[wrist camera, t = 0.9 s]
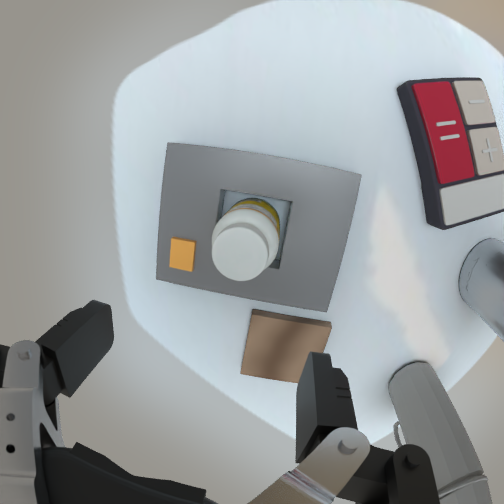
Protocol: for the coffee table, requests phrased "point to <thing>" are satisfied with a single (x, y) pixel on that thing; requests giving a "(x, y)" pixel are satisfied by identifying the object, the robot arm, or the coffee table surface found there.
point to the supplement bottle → (246, 239)
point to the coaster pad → (282, 345)
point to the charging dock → (264, 184)
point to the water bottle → (438, 434)
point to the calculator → (455, 149)
